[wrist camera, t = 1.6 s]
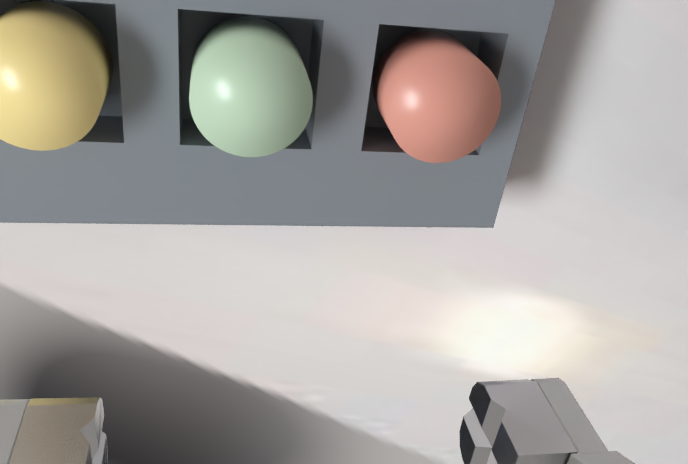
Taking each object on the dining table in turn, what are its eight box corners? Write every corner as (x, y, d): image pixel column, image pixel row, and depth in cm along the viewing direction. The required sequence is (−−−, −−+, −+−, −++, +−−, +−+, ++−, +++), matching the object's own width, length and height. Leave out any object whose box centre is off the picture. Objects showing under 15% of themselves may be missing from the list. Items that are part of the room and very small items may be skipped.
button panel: (532, -78, 26) (572, -64, 23) (467, 189, 32) (493, 227, 29) (-88, -148, 21) (-135, -142, 19) (-24, 178, 28) (-51, 221, 25)
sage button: (307, 20, 24) (318, 44, 22) (298, 126, 27) (307, 158, 24) (190, 11, 23) (188, 36, 21) (191, 121, 26) (189, 155, 23)
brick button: (484, 33, 26) (513, 58, 23) (462, 133, 28) (486, 164, 25) (380, 26, 25) (399, 50, 22) (365, 129, 27) (381, 161, 25)
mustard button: (108, 5, 23) (95, 29, 20) (116, 118, 25) (106, 152, 23) (-24, -4, 22) (-54, 20, 20) (-4, 113, 24) (-28, 148, 22)
